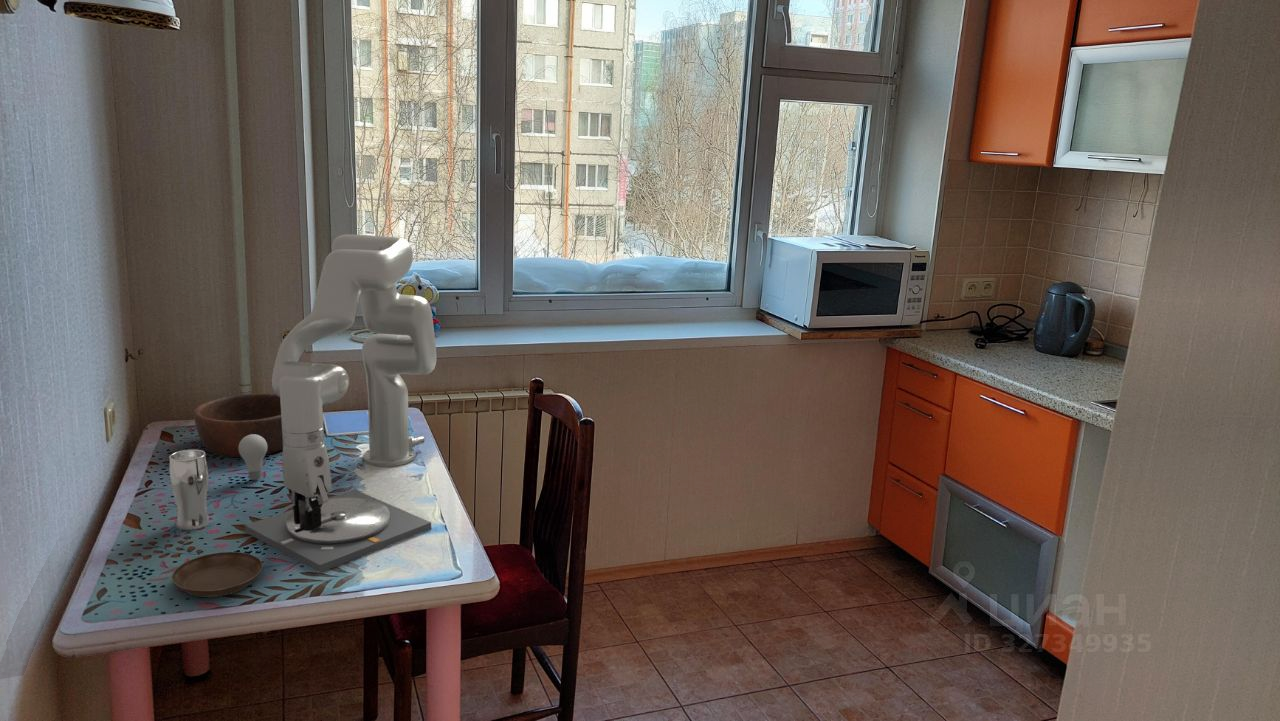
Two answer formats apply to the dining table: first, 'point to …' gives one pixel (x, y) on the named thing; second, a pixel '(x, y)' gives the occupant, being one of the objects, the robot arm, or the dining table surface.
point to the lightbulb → (253, 454)
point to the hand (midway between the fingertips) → (307, 524)
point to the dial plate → (338, 553)
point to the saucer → (217, 573)
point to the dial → (341, 521)
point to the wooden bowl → (239, 422)
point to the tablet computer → (346, 423)
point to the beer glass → (190, 488)
